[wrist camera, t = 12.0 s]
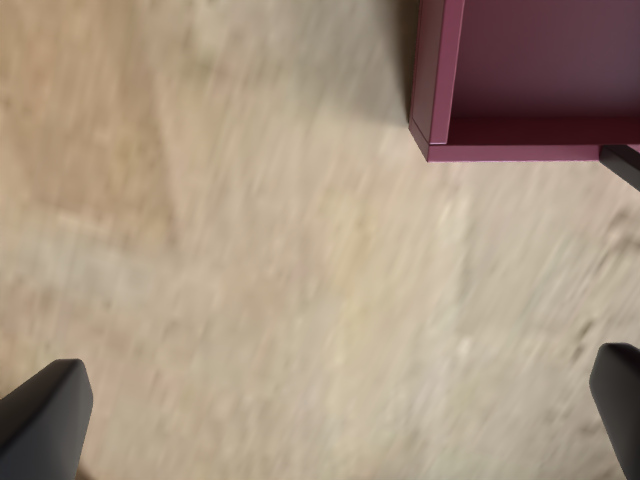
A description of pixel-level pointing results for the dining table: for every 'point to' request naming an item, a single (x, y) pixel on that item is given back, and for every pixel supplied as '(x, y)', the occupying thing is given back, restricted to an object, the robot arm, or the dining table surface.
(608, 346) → the robot arm
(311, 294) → the dining table surface
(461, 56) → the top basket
